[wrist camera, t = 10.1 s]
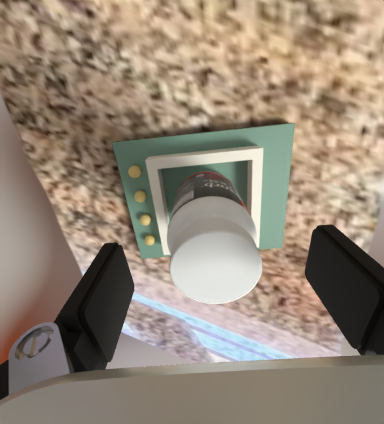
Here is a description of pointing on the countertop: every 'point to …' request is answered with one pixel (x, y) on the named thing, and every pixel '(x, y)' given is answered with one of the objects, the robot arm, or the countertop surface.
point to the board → (199, 162)
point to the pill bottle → (212, 241)
